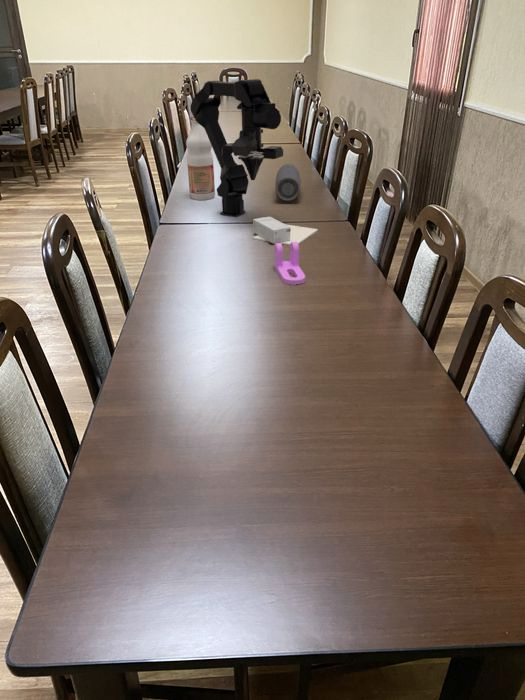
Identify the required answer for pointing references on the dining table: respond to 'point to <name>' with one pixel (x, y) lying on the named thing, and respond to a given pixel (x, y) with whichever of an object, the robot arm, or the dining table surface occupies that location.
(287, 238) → the skincare box
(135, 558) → the dining table surface
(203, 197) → the fruit juice
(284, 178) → the bluetooth speaker
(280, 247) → the bracket
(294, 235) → the rubber mat
